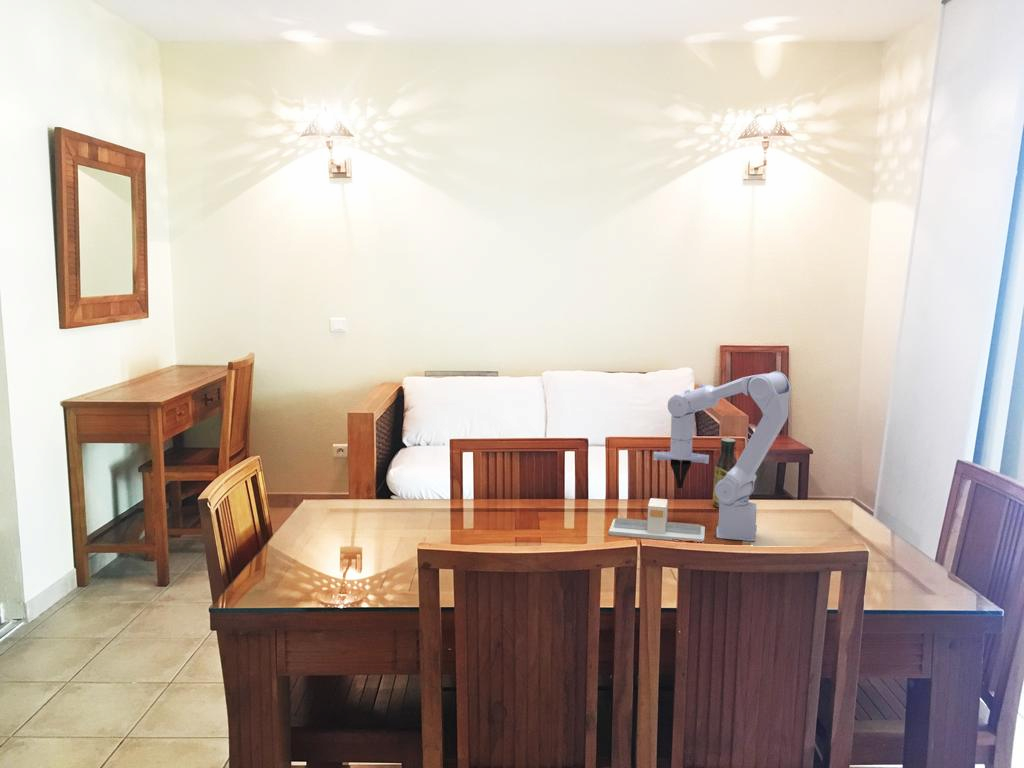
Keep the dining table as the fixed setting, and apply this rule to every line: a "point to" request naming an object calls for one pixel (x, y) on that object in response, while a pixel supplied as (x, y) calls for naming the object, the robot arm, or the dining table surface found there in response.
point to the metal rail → (669, 528)
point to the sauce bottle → (724, 463)
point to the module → (657, 515)
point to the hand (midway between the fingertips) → (679, 487)
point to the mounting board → (656, 534)
